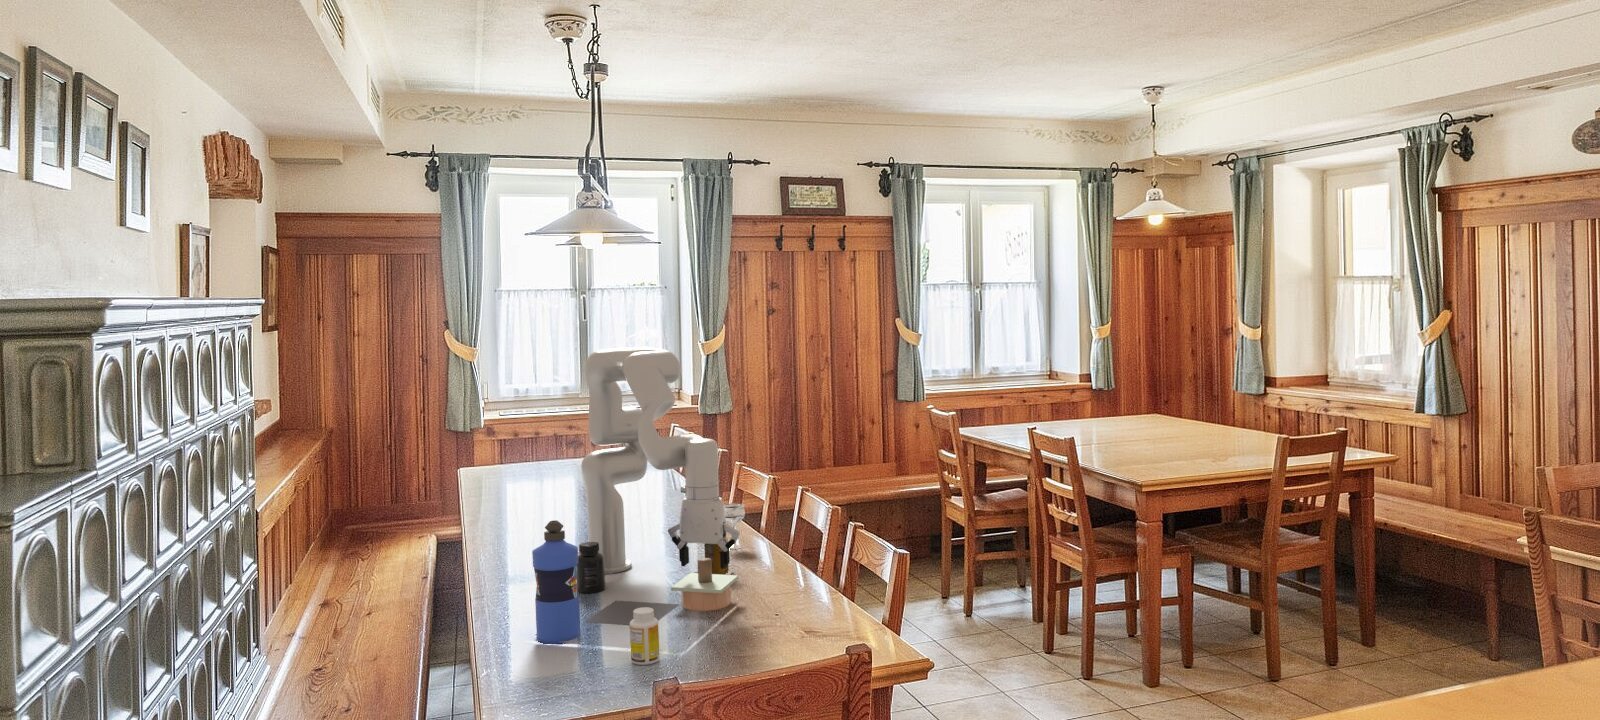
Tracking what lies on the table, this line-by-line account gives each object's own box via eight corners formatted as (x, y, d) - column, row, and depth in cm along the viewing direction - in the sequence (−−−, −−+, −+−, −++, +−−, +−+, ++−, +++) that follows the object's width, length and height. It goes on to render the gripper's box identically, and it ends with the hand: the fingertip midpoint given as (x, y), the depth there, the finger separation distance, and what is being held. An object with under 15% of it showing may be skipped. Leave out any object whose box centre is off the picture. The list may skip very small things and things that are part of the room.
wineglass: (745, 550, 287) (743, 507, 286) (721, 550, 287) (719, 508, 286) (746, 544, 294) (745, 503, 293) (723, 544, 294) (722, 503, 293)
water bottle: (584, 629, 222) (580, 515, 220) (577, 644, 212) (572, 525, 211) (541, 631, 221) (536, 517, 220) (531, 646, 212) (526, 527, 210)
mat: (583, 624, 225) (583, 621, 225) (615, 602, 240) (615, 600, 240) (650, 629, 221) (650, 626, 221) (679, 606, 236) (678, 604, 236)
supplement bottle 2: (659, 654, 205) (657, 604, 204) (660, 664, 199) (658, 613, 199) (630, 657, 204) (628, 607, 203) (631, 667, 198) (629, 615, 198)
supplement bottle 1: (610, 589, 252) (608, 541, 251) (596, 597, 246) (594, 547, 245) (586, 587, 254) (584, 539, 253) (571, 595, 248) (569, 546, 247)
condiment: (735, 574, 263) (733, 528, 262) (705, 580, 258) (704, 533, 257) (721, 568, 269) (719, 523, 268) (692, 573, 264) (691, 528, 263)
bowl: (675, 611, 233) (674, 590, 232) (693, 597, 243) (692, 576, 243) (720, 614, 230) (719, 592, 229) (736, 600, 240) (736, 579, 240)
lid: (671, 590, 232) (670, 565, 232) (690, 576, 243) (690, 552, 243) (720, 593, 229) (719, 567, 228) (738, 578, 240) (737, 554, 240)
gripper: (661, 494, 233) (663, 568, 235) (732, 497, 229) (734, 572, 230) (673, 488, 241) (676, 559, 242) (743, 490, 236) (745, 563, 237)
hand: (704, 565), depth 236 cm, fingers open, 9 cm apart
